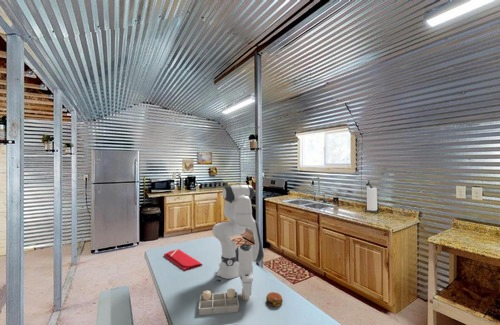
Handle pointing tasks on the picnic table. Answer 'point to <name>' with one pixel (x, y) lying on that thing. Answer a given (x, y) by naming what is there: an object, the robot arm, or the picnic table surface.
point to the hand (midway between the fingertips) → (245, 295)
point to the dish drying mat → (182, 260)
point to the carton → (218, 304)
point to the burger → (274, 299)
